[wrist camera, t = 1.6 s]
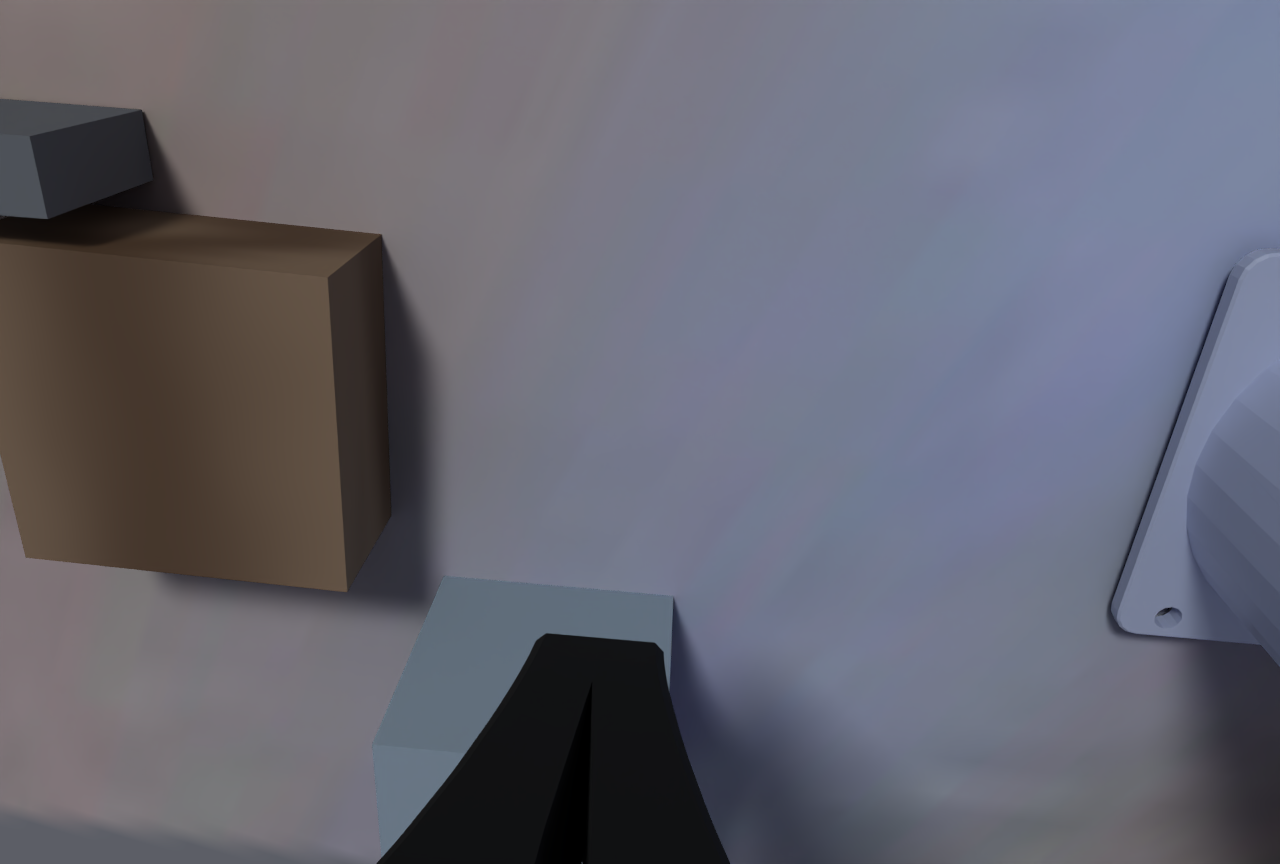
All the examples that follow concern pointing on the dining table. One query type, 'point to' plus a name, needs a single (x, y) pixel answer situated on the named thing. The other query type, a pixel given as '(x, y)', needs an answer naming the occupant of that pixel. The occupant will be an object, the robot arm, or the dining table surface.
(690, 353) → the dining table surface
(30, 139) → the corner jig
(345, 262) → the walnut block
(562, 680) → the robot arm
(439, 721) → the blue-grey cube
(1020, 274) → the dining table surface
